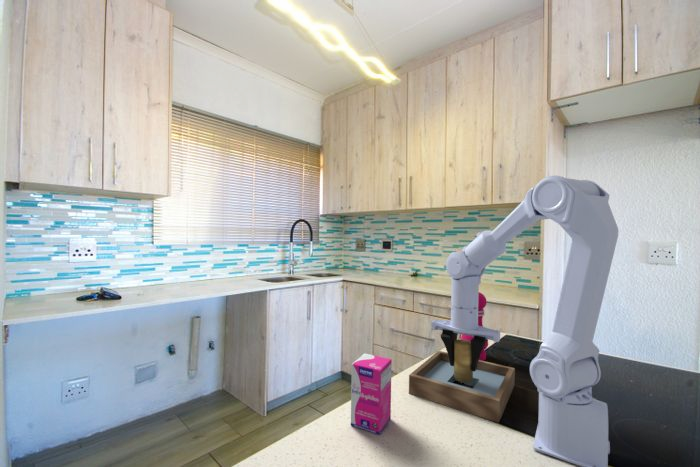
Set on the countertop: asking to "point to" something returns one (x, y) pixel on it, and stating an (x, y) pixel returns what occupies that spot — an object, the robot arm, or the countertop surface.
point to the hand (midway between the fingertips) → (463, 367)
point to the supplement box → (371, 393)
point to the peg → (462, 360)
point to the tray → (460, 396)
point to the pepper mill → (479, 323)
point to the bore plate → (481, 382)
